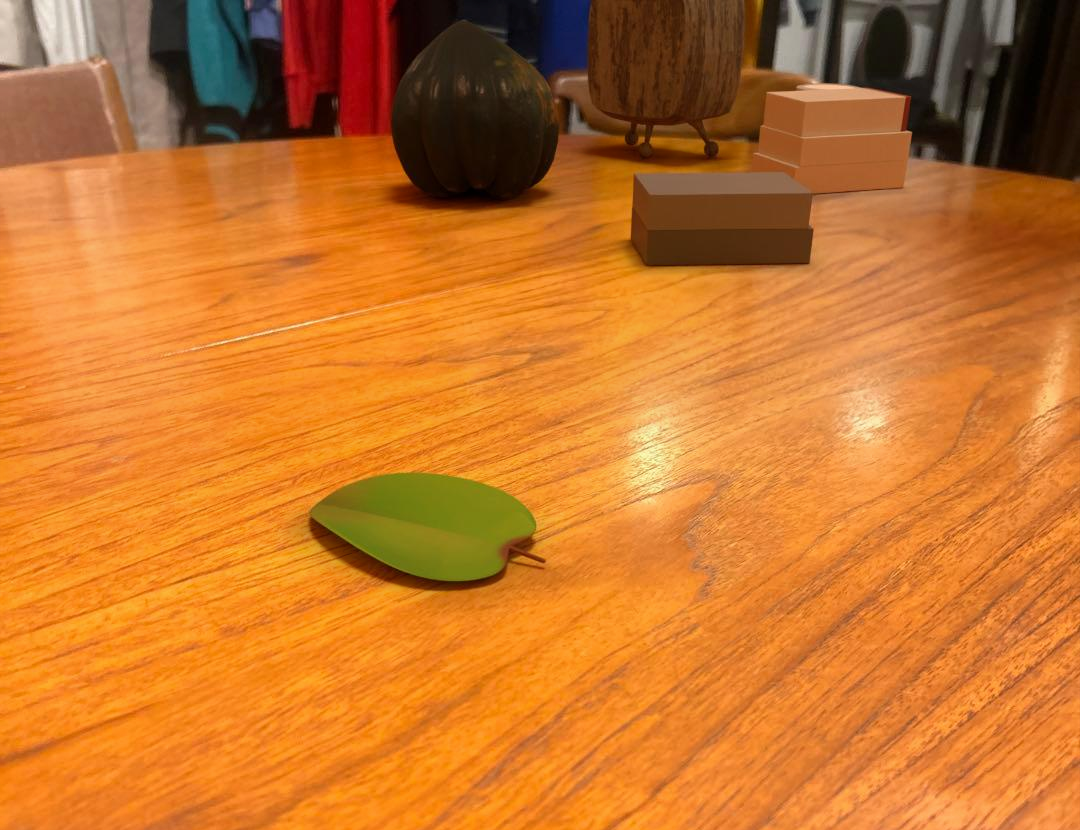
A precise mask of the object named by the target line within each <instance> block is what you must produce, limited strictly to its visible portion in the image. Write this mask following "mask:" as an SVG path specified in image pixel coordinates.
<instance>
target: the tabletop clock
mask: <svg viewBox="0 0 1080 830" xmlns="http://www.w3.org/2000/svg"><path fill="white" fill-rule="evenodd" d="M590 1H591V3H590V6H589V14H588V30H587V46H586V49H587V54H586V55H587V58H586V59H587V85H588V93H589V97H590V101H591V104H592V105H593V106H594V108H596V109H597V110H598V111H599V112H601V113H602V114H604V115H605V116H607V117H609V118H612V119H615V120H619V121H623V122H627V123H630V130H628V131H627V132H626V133H625V134H624V143H625V144H626V145H628V146H630V147H633V146H635V145H637V144H638V143H639V139H640V136H639V134H638V132H637V128H638V125H641V126H645V130H644V131H645V132H644V141H643V142H641V143H639V144H638V146H637V153H638V156H639V157H641V158H642V159H647V158H650V157H651V156H652V155H653V146H652V144H651V143H650V141H651V138H652V134H653V130H654V126H664V127H666V126H667V127H669V126H678V125H684V124H688V125H689V126H691V127H692V128H694V129H695V130H696V132H697V133H698V135H699V136H700V138H701V140H702V141H703V143H704V146H703V153H704V154H705V156H707V157H709V158H714V157H716V156H717V155H718V154H719V151H720V147H719V143H717V142H716V141H714V140H710V138H709V136H708V134H707V131H706V129H705V126H704V122H703V121H704V120H709V119H715V118H720V117H722V116H725V115H727V114H729V113H730V112H731V109H732V108H733V106H734V103H735V101H736V98H737V95H738V90H739V86H740V82H741V74H742V68H743V60H744V53H745V31H746V8H745V0H590Z"/></svg>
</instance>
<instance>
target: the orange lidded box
mask: <svg viewBox="0 0 1080 830" xmlns="http://www.w3.org/2000/svg"><path fill="white" fill-rule="evenodd" d="M912 135H913V131H909V130H906V131H902V132H900V131H898V132H880V133H862V134H845V135H827V136H810V137H800V136H797V135H793V134H790V133H786V132H783V131H780V130H776V129H773V128H769V127H766V126H763V124H762V125H760V126H759V137H758V145H757V152H753V153H752V161H751V171H750V172H784V173H785V174H787V175H788V176H790V177H791V178H793V179H794V180H795V181H797V182H798V183H800V184H801V185H802V186H804V187H805V188H807V189H808V190H809V191H811V192H812V193H813V195H816V194H817V195H818V194H829V193H830V194H832V193H846V192H847V193H848V192H858V191H859V192H860V191H874V190H886V189H899V188H904V186H905V185H904V184H905V180H906V179H905V178H906V172H907V166H908V161H909V155H910V150H911V149H910V148H911V142H912Z"/></svg>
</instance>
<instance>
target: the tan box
mask: <svg viewBox="0 0 1080 830" xmlns="http://www.w3.org/2000/svg"><path fill="white" fill-rule="evenodd" d="M765 94H766V95H765V104H764V113H763V124H762V125H763V126H766V127H769V128H773V129H776V130H780V131H783V132H786V133H790V134H793V135H797V136H800V137H810V136H827V135H845V134H862V133H880V132H898V131H900V132H902V131H907V127H908V120H909V115H910V114H909V113H910V107H911V101H912V96H911V95H906V94H901V93H896V92H892V91H887V90H881V89H876V88H871V87H860V88H853V89H830V90H807V91H796V90H788V91H787V90H786V91H767V92H766V93H765Z"/></svg>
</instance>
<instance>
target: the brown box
mask: <svg viewBox="0 0 1080 830" xmlns="http://www.w3.org/2000/svg"><path fill="white" fill-rule="evenodd" d="M632 185H633V186H632V207H631V220H630V221H631V222H630V240H631V242H632V243H633V245H634V247H635V249H636V250H637V252H638V253H639V255H640V257H641V259H642V260H643V263H644V264H645V266H651V267H652V266H653V267H654V266H715V265H717V266H718V265H721V266H722V265H782V264H784V265H785V264H786V265H787V264H810V262H811V255H812V247H813V238H814V233H815V229H814V228H813V227H812V226H811V225H810V220H811V210H812V204H813V203H812V202H813V196H814V194H813V193H812V192H811V191H809V190H808V189H807V188H805V187H804V186H802V185H801V184H800V183H798V182H797V181H795V180H794V179H793V178H791V177H790V176H788V175H787V174H785V173H784V172H751V171H749V172H745V171H744V172H743V171H741V172H740V171H739V172H645V173H644V172H641V173H638V172H636V173H633V183H632Z"/></svg>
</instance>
